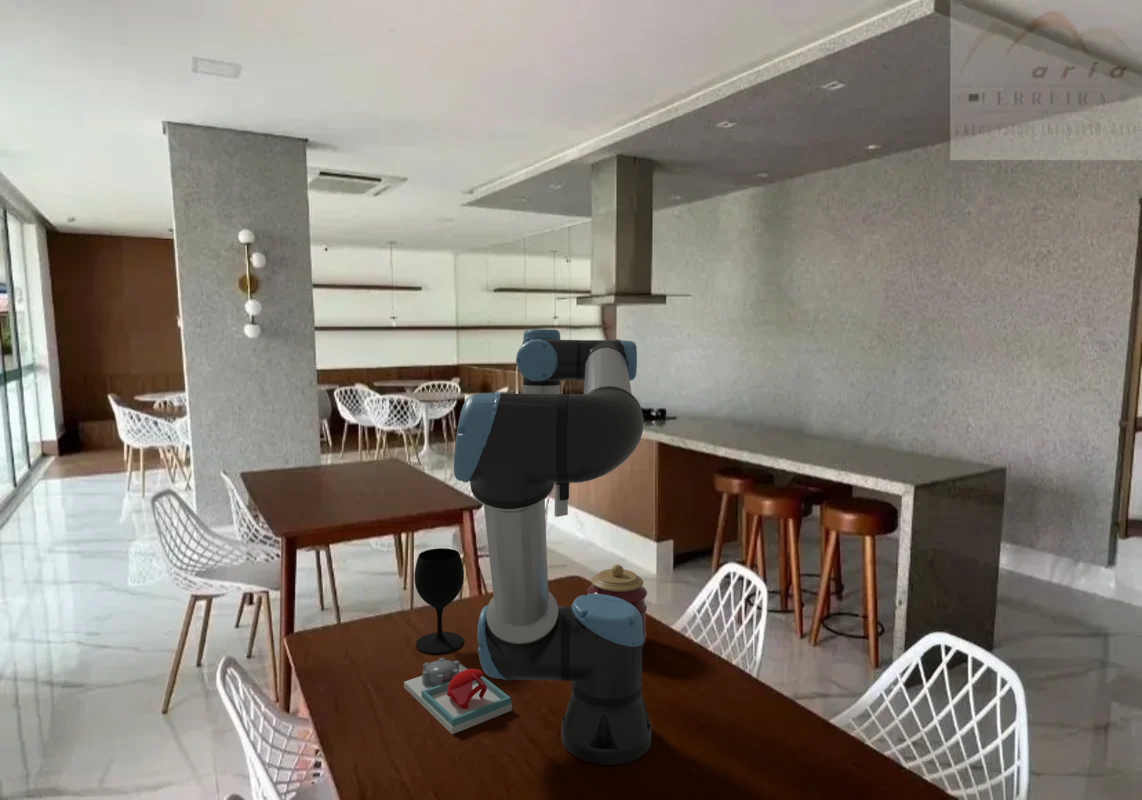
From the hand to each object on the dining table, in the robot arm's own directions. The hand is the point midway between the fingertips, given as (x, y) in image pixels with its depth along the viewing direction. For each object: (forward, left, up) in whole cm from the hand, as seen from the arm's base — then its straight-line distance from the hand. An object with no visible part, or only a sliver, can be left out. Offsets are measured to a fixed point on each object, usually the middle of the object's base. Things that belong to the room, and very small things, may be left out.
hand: (541, 508), depth 138 cm
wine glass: (+18, +14, -32) cm, 39 cm away
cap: (-8, +22, -31) cm, 39 cm away
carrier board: (-4, +22, -32) cm, 39 cm away
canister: (-5, -17, -32) cm, 37 cm away
